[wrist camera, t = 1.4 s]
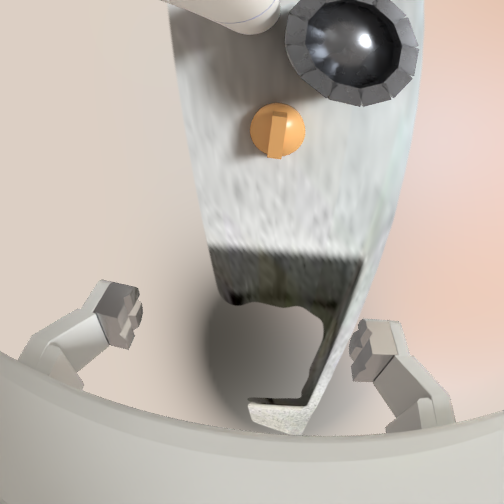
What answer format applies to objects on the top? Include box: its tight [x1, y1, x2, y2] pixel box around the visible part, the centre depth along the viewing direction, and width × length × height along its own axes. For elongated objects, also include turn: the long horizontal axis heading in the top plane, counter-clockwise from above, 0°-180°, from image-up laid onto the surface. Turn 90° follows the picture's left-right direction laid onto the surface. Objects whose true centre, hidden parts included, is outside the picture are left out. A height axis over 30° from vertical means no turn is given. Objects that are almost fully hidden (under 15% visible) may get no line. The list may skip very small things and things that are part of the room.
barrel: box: [285, 0, 419, 107], centre depth 23 cm, size 12×12×10 cm
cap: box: [250, 103, 305, 159], centre depth 32 cm, size 7×7×5 cm
